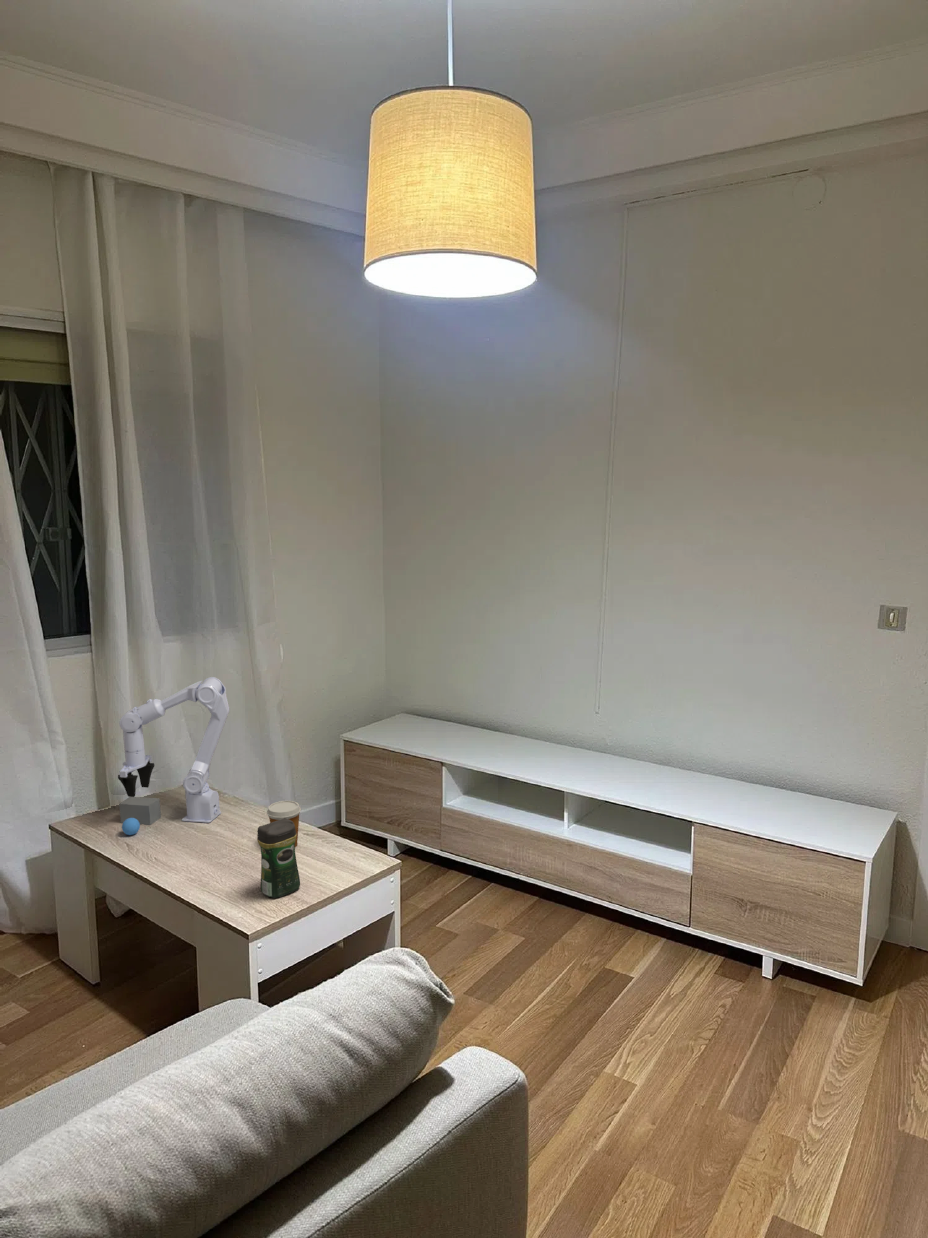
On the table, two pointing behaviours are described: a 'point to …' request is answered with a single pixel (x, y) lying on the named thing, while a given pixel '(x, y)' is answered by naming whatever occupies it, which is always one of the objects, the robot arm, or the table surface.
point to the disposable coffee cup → (285, 813)
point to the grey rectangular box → (140, 809)
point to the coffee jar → (278, 858)
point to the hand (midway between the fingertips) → (138, 791)
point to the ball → (130, 826)
